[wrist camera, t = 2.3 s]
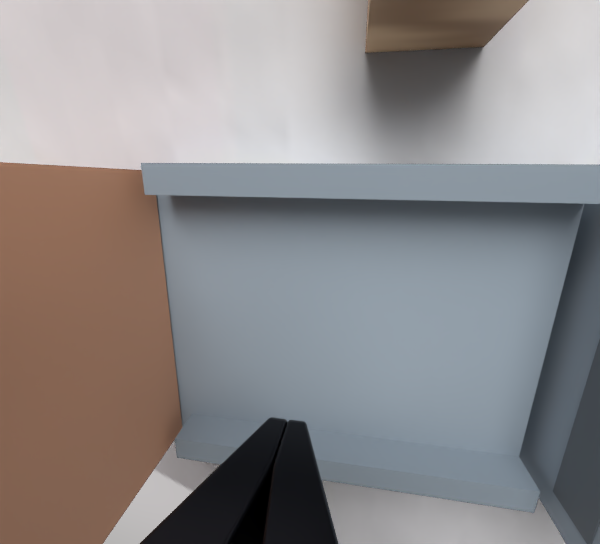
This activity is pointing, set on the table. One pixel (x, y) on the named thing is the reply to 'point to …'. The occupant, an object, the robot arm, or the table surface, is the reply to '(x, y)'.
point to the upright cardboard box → (435, 23)
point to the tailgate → (80, 351)
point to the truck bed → (395, 323)
